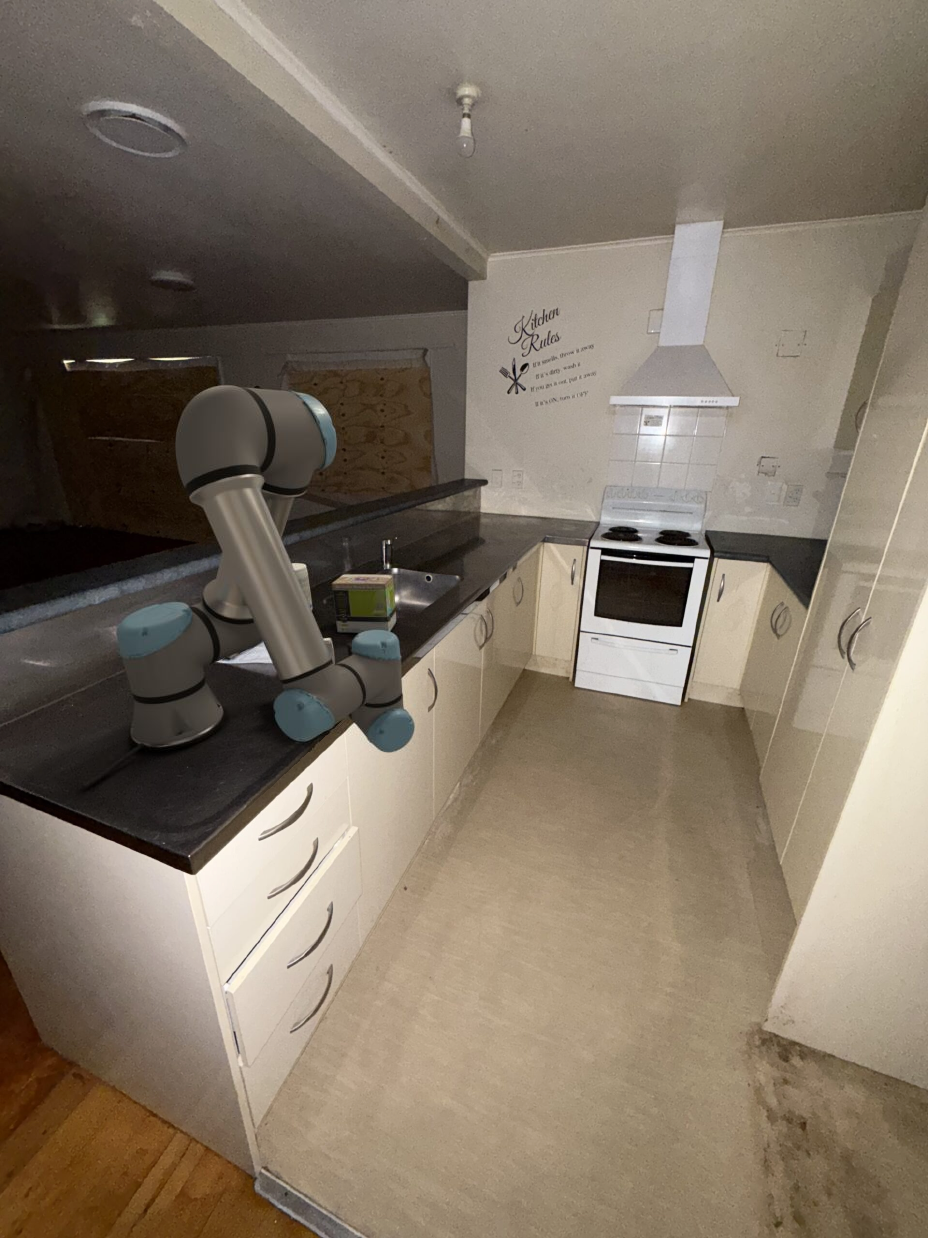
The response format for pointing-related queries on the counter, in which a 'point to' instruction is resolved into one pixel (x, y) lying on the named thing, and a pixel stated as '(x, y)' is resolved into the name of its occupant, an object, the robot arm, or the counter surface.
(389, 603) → the tea box
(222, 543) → the robot arm
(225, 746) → the counter surface
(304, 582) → the supplement tub
